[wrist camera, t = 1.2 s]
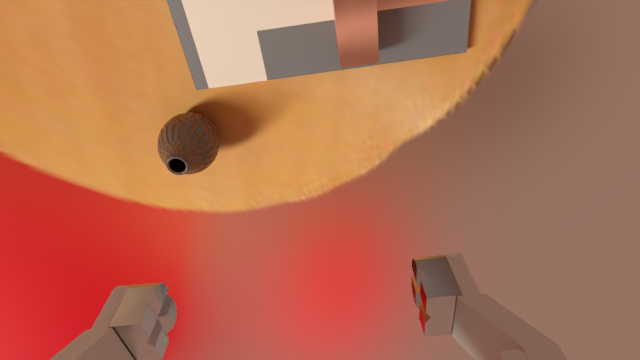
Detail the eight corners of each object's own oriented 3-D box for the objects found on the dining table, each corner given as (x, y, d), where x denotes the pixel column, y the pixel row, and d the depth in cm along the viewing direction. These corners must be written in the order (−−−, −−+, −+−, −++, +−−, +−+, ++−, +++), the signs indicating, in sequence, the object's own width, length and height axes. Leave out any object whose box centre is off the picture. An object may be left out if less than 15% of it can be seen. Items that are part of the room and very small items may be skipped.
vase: (231, 119, 47) (217, 153, 40) (214, 160, 51) (198, 199, 43) (177, 95, 45) (152, 127, 38) (163, 140, 49) (137, 178, 42)
